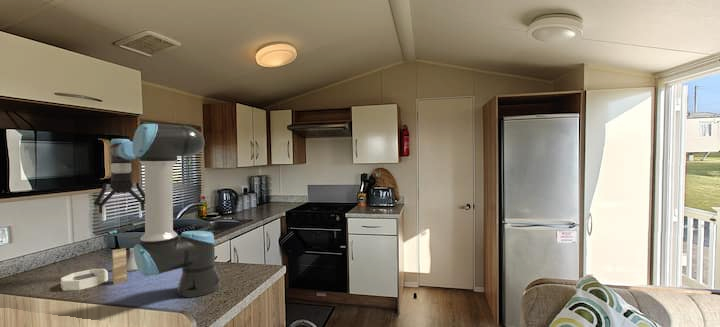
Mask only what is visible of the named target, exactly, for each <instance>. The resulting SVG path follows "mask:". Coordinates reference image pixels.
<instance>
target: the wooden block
mask: <svg viewBox="0 0 720 327" xmlns="http://www.w3.org/2000/svg"><path fill="white" fill-rule="evenodd" d="M111 266H112V267H111V269H112V270H111V274H112V284H113V285H117V284H122V283H125V282H127V281H128V276H127V273H128V271H127V248H125V247H122V248H116V249H112V250H111Z"/></svg>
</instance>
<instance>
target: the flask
mask: <svg viewBox="0 0 720 327" xmlns="http://www.w3.org/2000/svg"><path fill="white" fill-rule="evenodd" d="M126 265H127V272H131V271H139V270H138V268H137V266H136V263H135V259H134V247H132V248H129V258H128V261H127V262H126Z"/></svg>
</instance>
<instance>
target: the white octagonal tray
mask: <svg viewBox="0 0 720 327" xmlns="http://www.w3.org/2000/svg"><path fill="white" fill-rule="evenodd" d="M108 281H109V272H108V270H107V269H105V268H91V269H87V270H81V271H77V272H72V273H69V274H67V275H65V276H62V277H60V288H61V290H62V291H63V292H64V291H65V292H66V291H69V292H70V291H81V290H85V289H88V288H93V287H98V286H100V285H102V284H103V283H107V282H108Z"/></svg>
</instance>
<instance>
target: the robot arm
mask: <svg viewBox="0 0 720 327" xmlns="http://www.w3.org/2000/svg"><path fill="white" fill-rule="evenodd" d="M109 144H110V146H109V149H110V172H111V175H110V176H111V178H110V179H111V180H110V181H111V183H109V184H107V183H103V184H102V187H101V190H100V192H99V194H98V195H97V197H96V199H95V201H94V202H93V205H94V206H98V208H99V209H98V210H99V211H98V212H99V214H101V215H102V216H101V217H102V220H101V221H103V222H105V221H106V220H107V205H105V204H106V203H107V202H108V201H109V200H110V199H111V198H112V197H113V196H114V195H115V194H121V193H122V194H127V193H129V194H130V196H132V197H133V198H135V199H136V200H137V201H138V202H139V203H138V218H139V219H140V218H142V217H143V211H144V228H145V229H144V234H143V235H142V236H141V237H140V239H139V240H140V241H139V243H137V244H135V245H134V247H133V248H134V259H135V263H136V266H137V268H138V270H137V271H138V272H139V273H140V274H141V275H142V276H143V277H150V276H155V275H157V276H158V275H159V274H165V273H167V272H172V271H176V270H180V269H181V276H180V278H179V283H178V286H177V295H178V296H180V297H182V298H195V297H200V296H201V297H202V296H204V295H208V294H211V293H215V291H217V290H219V289H220V287H221V280H220V277H219V274H218V272H217V270H216V260H215V256H216V255H215V253H216V252H215V250H216V249H215V248H216V247H215V245H216V243H215V235H214V233H213V232H211V231H208V230H207V231H205V230H187V231H183V232H181V234H180V236H178V235H179V234H178V233H177V232H176V231H175V230H174V201H173V200H174V197H173V196H174V182H173V181H174V180H173V179H174V177H173V174H174V173H173V171H174V170H173V167H174V166H175V164H176V163H177V162H178V157H191V156H195V155H198V154H199V153H201V152H202V151H203V150H204V147H205V137H204V136H203V134H202V133H201V132H200V131H199V130H197V129H196V128H194V127H191V126H188V125H175V124H165V123H164V124H162V123H142V124H141V125H138V127H137V128H136V131H135V132H134V136H133V139H132V141H131V140H130V139H128V138H112V139H111V140H110V143H109ZM132 160H139V163H141V164H142V165H143V167H144V190H143V188H142V187H141V183H140V182H135V183H133V180H132V178H133V177H132V176H133V175H132V173H131V172H132ZM133 187H134V188H136V189H137V191H138V192H139V194H140V195H141V197H140V196H139V195H138V194H137V193H136V192H135V191H134V190H133V189H132V188H133ZM109 188H111V191H110V193H108V195H106V196H105V198H103V197H104V195H105V193H106V191H107V190H108V189H109ZM102 198H103V199H102Z"/></svg>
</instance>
